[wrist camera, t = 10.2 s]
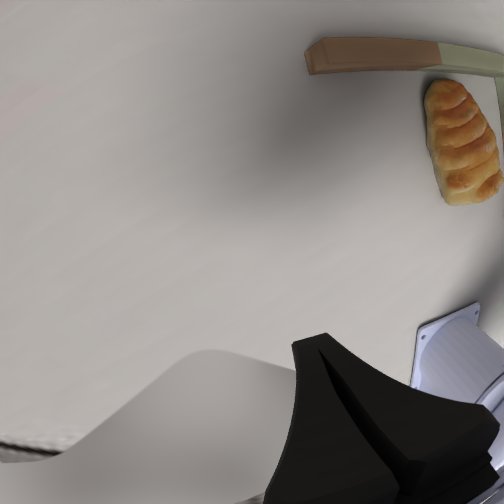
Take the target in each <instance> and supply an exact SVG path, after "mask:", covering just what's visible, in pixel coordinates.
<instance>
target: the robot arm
mask: <svg viewBox="0 0 504 504" xmlns="http://www.w3.org/2000/svg"><path fill="white" fill-rule="evenodd" d="M479 312H480V304H479V303H478V302H476V303H474V304H472V305H470V306H468V307H466V308H464V309H461V310H459V311H457V312H455V313H453V314H450V315H448V316H446V317H444V318H441V319H439V320H437V321H434V322H432V323H430V324H427V325H425V326H422V327H421V328H420V329H419V330H418V334H417V343H416V352H415V359H414V366H413V373H412V379H411V386H407V385H405V384H403V383H401V382H399V381H397V380H394V379H393V378H391V377H389V376H387V375H385V374H383V373H382V372H380V371H378V370H377V369H375V368H373V367H372V366H370V365H369V364H367V363H366V362H364V361H363V360H361V359H360V358H358V357H357V356H356V355H354V354H353V353H351V352H350V351H349V350H348V349H346V348H345V347H344V346H342V345H341V344H340V343H339V342H337V341H336V340H335V339H334V338H333V337H332V336H330V335H329V334H328V333H323V334H319V335H316V336H313V337H309V338H305V339H302V340H298V341H295V342H293V344H292V351H293V356H294V362H295V368H296V393H295V394H296V395H295V403H294V409H293V415H292V420H291V425H290V428H289V432H288V436H287V440H286V443H285V446H284V449H283V452H282V455H281V457H280V460H279V463H278V465H277V468H276V470H275V472H274V475H273V476H272V479H271V481H270V483H269V485H268V487H267V489H266V491H265V496H264V501H263V504H480V503H481V502H483V501H484V500H486V499H487V498H488V497H490V496H491V495H493V494H494V495H493V496H491V497H490V498H489V499H488V500H486V501H485V502H484V503H483V504H504V349H503V348H502V347H501V346H500V345H499V344H498V343H496V342H495V341H494V340H493V339H492V338H491V337H490V336H488V335H487V334H486V333H485V332H484V331H483V330H482V329H480V328H479V327H478V326H477V322H478V317H479Z"/></svg>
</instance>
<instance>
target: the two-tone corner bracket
mask: <svg viewBox="0 0 504 504" xmlns="http://www.w3.org/2000/svg"><path fill="white" fill-rule="evenodd" d="M304 54H305V58H306V62H307V67H308V71H309V75H312V74H323V73H335V72H351V71H380V70H407V71H434V72H449V73H461V74H471V75H479V76H487V77H494V78H495V83H496V88H497V94H498V101H499V108H500V116H501V124H502V135H503V148H504V55H502V54H498V53H494V52H490V51H485V50H480V49H475V48H470V47H464V46H459V45H452V44H446V43H438V42H430V41H421V40H410V39H397V38H375V37H334V38H322V39H321V40H320V41H319V42H317V43H316V44H315V45H313V46H312V47H311V48H310V49H309V50H307V51H306V52H305V53H304Z"/></svg>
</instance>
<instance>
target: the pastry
mask: <svg viewBox="0 0 504 504" xmlns="http://www.w3.org/2000/svg"><path fill="white" fill-rule="evenodd" d="M424 108H425V112H426V115H427V124H426V126H427V135H426V144H427V147H428V149H429V150H430V156H431V160H432V163H433V167H434V173H435V176H436V180H437V183H438V186H439V189H440V191H441V195H442V196H443V198H444V200H445V202H446V203H447V204H448V205H452V206H458V205H467V204H469V203H479V202H483V201H485V200H486V199H489V198H490V197H492V196H493V195H495V194H496V193H497V192H498V190H499V187H500V186H501V184H502V182H503V177H502V171H501V169H500V163H499V152H498V148H497V145H496V137H495V134H494V132H493V130H492V129H491V127H490V126H489V124H488V122H487V120H486V118H485V116H484V115H483V114H482V113H481V110H480V108H479V107H478V105H477V103H476V102H475V101H474V99H473V98H472V96H471V94H470V93H468V92H467V90H466V89H465V88H464V86H463V85H462V84H460V83H458V82H456V81H454V80H449V79H438V80H435V81H434V82H433V83H432V84H431V85H430V87H429V88H428V90H427V92H426V95H425V98H424Z"/></svg>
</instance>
